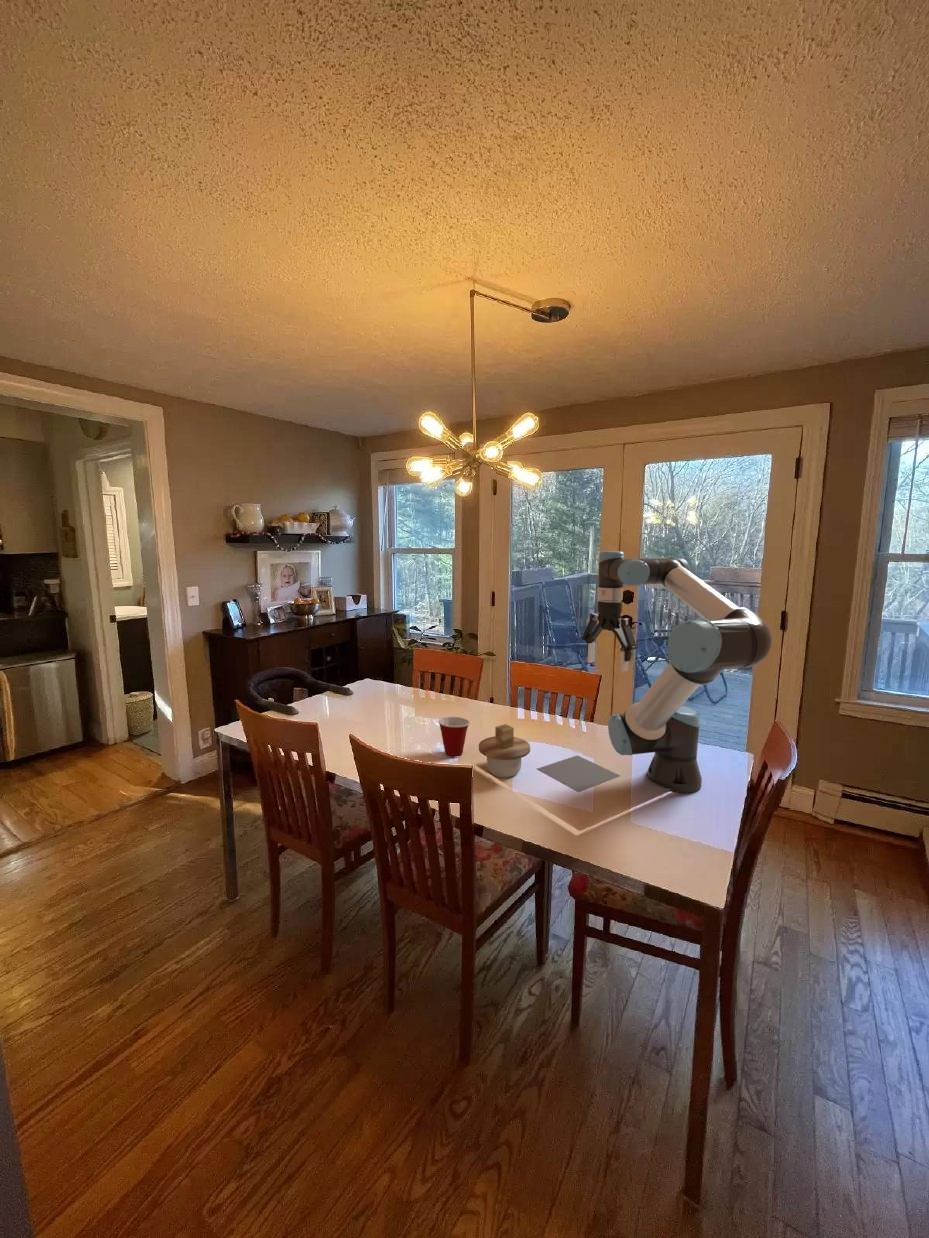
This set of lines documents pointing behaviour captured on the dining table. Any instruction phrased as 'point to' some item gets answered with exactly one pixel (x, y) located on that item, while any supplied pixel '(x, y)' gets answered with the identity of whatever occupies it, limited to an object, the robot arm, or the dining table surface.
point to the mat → (578, 773)
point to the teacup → (504, 767)
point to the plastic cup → (453, 734)
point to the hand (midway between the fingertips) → (607, 666)
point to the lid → (504, 745)
